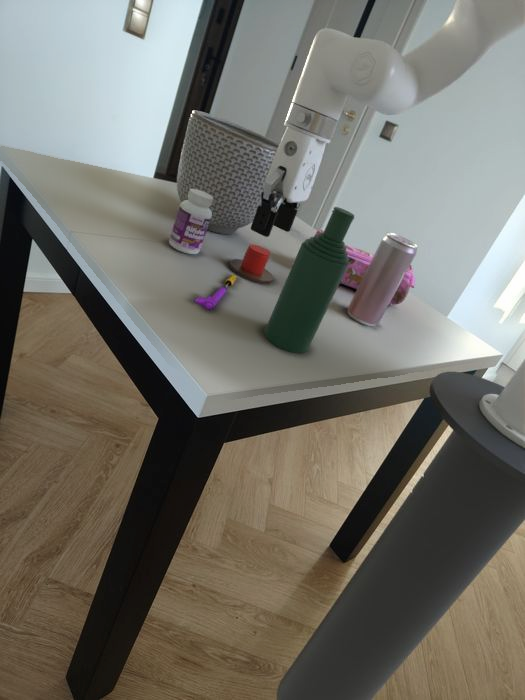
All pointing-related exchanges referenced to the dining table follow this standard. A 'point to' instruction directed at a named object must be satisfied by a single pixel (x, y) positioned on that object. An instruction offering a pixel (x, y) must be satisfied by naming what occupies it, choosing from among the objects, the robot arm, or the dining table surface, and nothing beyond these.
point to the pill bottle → (192, 222)
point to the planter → (225, 169)
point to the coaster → (263, 278)
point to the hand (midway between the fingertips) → (270, 230)
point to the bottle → (310, 286)
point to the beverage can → (382, 279)
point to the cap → (255, 259)
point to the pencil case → (359, 266)
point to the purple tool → (215, 295)
